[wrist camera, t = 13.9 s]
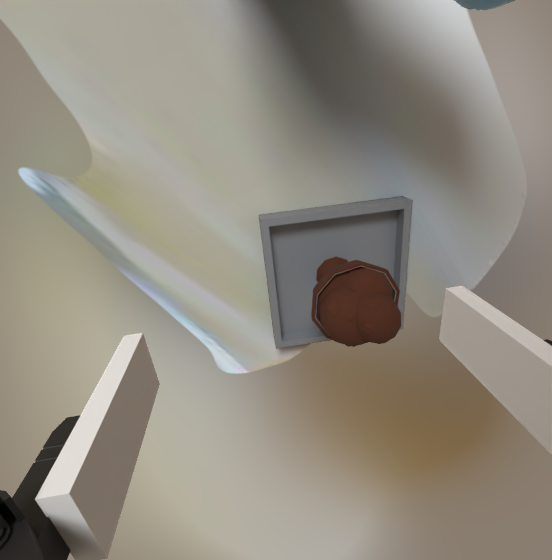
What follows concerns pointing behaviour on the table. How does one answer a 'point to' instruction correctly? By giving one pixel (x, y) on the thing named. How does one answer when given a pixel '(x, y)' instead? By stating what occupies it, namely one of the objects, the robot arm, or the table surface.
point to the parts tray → (328, 256)
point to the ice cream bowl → (355, 302)
